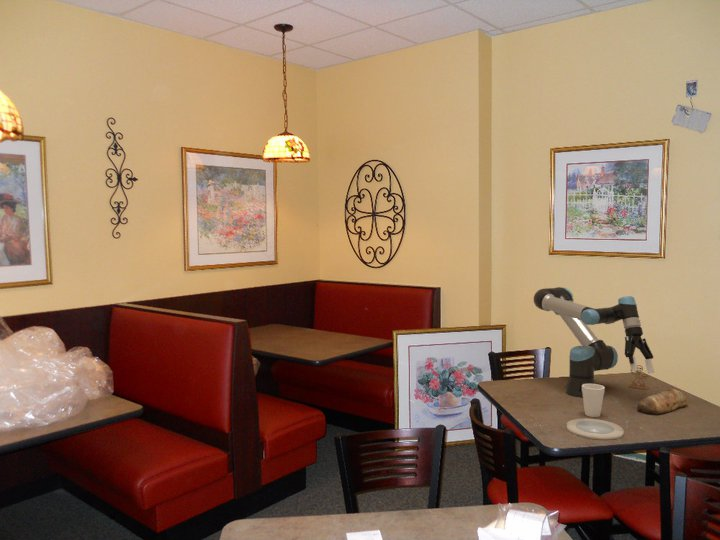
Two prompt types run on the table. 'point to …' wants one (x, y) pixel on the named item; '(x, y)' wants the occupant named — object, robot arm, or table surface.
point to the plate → (595, 429)
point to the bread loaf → (662, 402)
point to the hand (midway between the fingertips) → (643, 371)
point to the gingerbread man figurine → (639, 381)
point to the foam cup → (593, 399)
